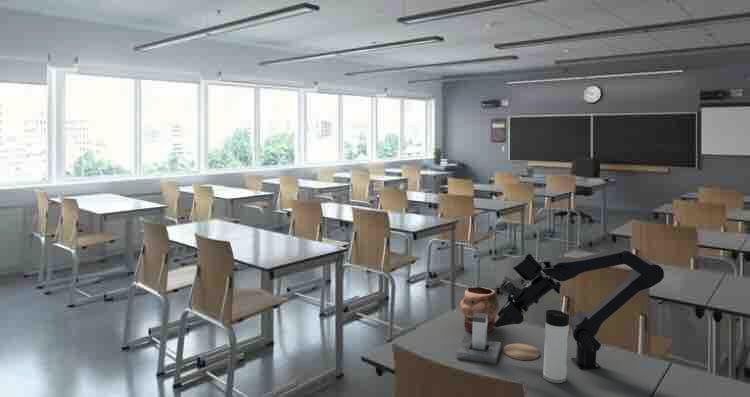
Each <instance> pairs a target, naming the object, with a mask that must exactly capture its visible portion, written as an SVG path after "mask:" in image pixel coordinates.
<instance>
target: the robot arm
mask: <svg viewBox="0 0 750 397" xmlns="http://www.w3.org/2000/svg"><path fill="white" fill-rule="evenodd" d="M621 265H626V266H627V267H629V268H631V270H630V272H629V274H628V276H627V278H626V279H625V281H623V282H622V283H620V284H619V286H617V287H616V288H615V289H614V290H613V291H612V292H611V293H609V294H608V295H607V296H606V297H605V298H604V299H603V300H601V301H600V302H599V303H598V304H596V305H595V306H594V307H593V308H592V309H591V310H589V311H586V312H583V310H582V309H580V310H578V311H577V313H576V314H574V316H571V317H570V320H569V333H570V335H571V336H572V338H573V340H574V341H575V342H576V346H575V347H576V348H575V350H576V351H575V357H571V358H570V360H571V362H573V363H574V365H575V366H577V367H578V369H581V370H582V369H601V365H600V364H599V363H598V362H597V351H599V350H600V348H601V346H602V344H601V343H600V341H599V340H598V338H597V337H596V336H597V334H598V333H599V330H600V328H601V326H602V324H603V323H605V321H607V319H609V318H610V317H611V316H613V315H614V314H615V313H616V312H617V311H618V310H620V309H621V308H622V307H623V306H625V304H626V303H628V302H629V301H630V300H631V299H633V297H635V296H636V295H637V294H638V293H639V292H642V291H645V290H648V289H651V288H653V287H654V286H656V285H657V284H659V283H661V282H663V280H664V278H665V272H664V269H663V268H662V266H661V265H659V264H657V263H656V262H655V261H654V260H652V259H648V258H641V257H640V256H638V255H636V254H634V253H632V251H630V250H629V249H627V248H625V247H620V248H618V249H613V250H609V251H605V252H600V253H595V254H590V255H585V256H581V257H573V256H572V257H571V256H561V257H553V258H552V259H551V260H548V261H547V260H545V261H538V260H537V259H535V257H534V256H533V254H531V253H530V251H527V252H526V253H524V254H523V255H521V256H518V257H516V259H515V260H514V261H513V262H512V263H511V265H510V266H511V268H512V269H513V270H514V271H515V272H516V273H517V275H519V276H520V277H521V278H522V279H523V281H529V282H528V283H527V282H524V283H523V284H520V283H519V282H517V281H516V280H514V279H512V278H510V277H509V276H504V278H503V279H502V281H501V283H500V285H499V287H498V288H499V290H501V291H503V292H505V293H507V294H508V295H507V301H506V303H505V304H504V305H503V306H502V307H501V309H499V310H498V312H497V315H496V316H498V318H497V319H496V320H495V323H494V328H499V327H505V326H511V325H520V324H522V323H523V322H524V321H525V316H526V315H525V314H526V313H527V312H528V311H529V309H530V307H532V306H534V304H535V305H537V304H538V303H539V302H540V300H541V299H542V298H543V297H545V296H546V295H548V294H549V293H550V292H551V291H555V293H557V294H558V295H559V294H560V293H561V290H560V289H561V285H562V283H561V282H566V281H569V280H572V279H574V278H576V277H578V276H579V275H581V274H582V273H587V272H590V271H591V272H592V271H595V270H600V269H606V268H611V267H615V266H621ZM552 277H553V278H552Z"/></svg>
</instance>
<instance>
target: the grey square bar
mask: <svg viewBox="0 0 750 397" xmlns="http://www.w3.org/2000/svg"><path fill="white" fill-rule="evenodd" d="M487 317H488V314H483V313H474V315H473V324H472V331H471V332H472V335H471V338H472V349H471V350H476V351H483V352H487V341H488V332H487Z"/></svg>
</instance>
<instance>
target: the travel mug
mask: <svg viewBox="0 0 750 397" xmlns="http://www.w3.org/2000/svg"><path fill="white" fill-rule="evenodd" d="M569 322H570V315H569V314H568V313H565V312H564V311H561V310H556V309H547V310H546V311H545V323H544V324H545V327H544V330H545V331H544V345H543V348H544V351H543V370H542V371H543V373H542V377H543V379H544V380H546V381H547V382H550V383H554V384H561V383H564V382H566V381H567V370H568V369H567V367H568V350H569V349H568V348H569V347H568V346H569V333H570V331H569Z"/></svg>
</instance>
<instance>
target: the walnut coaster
mask: <svg viewBox="0 0 750 397" xmlns="http://www.w3.org/2000/svg"><path fill="white" fill-rule="evenodd" d="M503 353H504V354H505V355H506V356H507V357H510V358H512V359H515V360H519V361H520V360H521V361H531V360H535V359H537V358H539V357H540V354H541V353H540V350H539V349H538V348H537V347H535V346H532V345H531V344H526V343H519V342H518V343H509V344H506V345H504V347H503Z"/></svg>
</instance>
